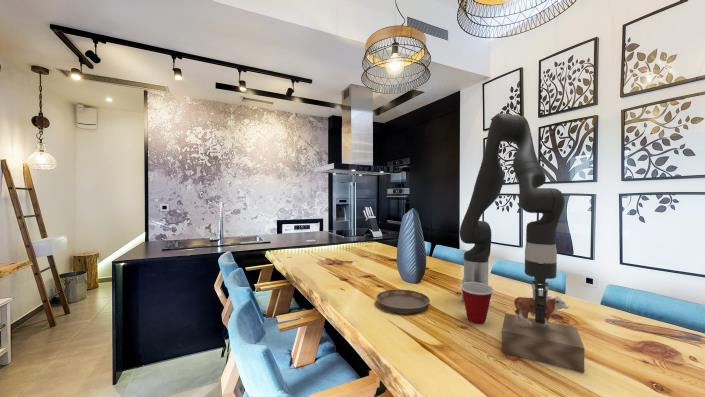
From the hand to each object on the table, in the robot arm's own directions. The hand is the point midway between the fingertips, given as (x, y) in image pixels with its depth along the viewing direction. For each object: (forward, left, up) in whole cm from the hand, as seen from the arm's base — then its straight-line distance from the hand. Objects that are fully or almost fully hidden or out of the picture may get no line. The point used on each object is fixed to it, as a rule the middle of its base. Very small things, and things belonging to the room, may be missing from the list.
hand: (539, 318), depth 81 cm
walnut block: (0, 0, -9) cm, 9 cm away
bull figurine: (0, 0, -2) cm, 2 cm away
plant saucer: (-45, +11, -9) cm, 47 cm away
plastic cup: (-18, +11, -9) cm, 23 cm away
